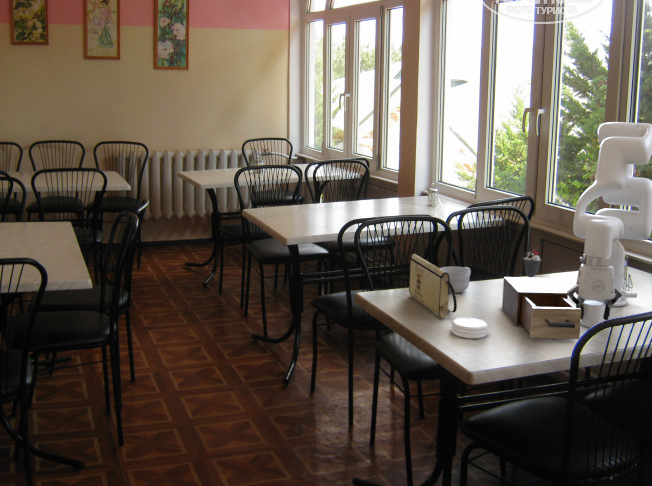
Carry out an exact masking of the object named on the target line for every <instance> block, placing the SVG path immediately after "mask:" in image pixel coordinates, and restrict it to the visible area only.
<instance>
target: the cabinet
mask: <svg viewBox="0 0 652 486" xmlns="http://www.w3.org/2000/svg"><path fill="white" fill-rule="evenodd" d="M521 295H562V296H563V297H564V298H566V299H567V300H568V298H569V296H568V293H567V291H566V290H565V289H564V288H563V287H561V286H560V285H559V284H557V283H556V282H555V281H554V280H553V279H552V278H550V277H533V278H529V277H520V276H519V277H517V276H515V277H513V276H504V277H503V285H502V299H501V300H502V301H501V309H502V311H503V312H504V313H505V314H506V316H507V317H508V318H509V319H510V320H511V322H512V323H513V324H514V325H515V327H525V326H524V325H523V324H522V323H521V322H520V321H519V316H520V301H521ZM568 301H569V300H568Z"/></svg>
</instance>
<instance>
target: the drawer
mask: <svg viewBox="0 0 652 486" xmlns="http://www.w3.org/2000/svg"><path fill="white" fill-rule="evenodd" d="M519 321H520V322H521V323H522V324H523V325H524V326H523V327H524V329H526V330H527V332H529V338H531V339H553V340H554V339H556V340H557V339H558V340H579V339H580V333H581V323H582V320H581V308H576V305H574V304H573V303H572V302H570V301H569V300H567V299H566V298H564V297H563V296H562V295H521V301H520V316H519Z"/></svg>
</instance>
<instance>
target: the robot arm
mask: <svg viewBox="0 0 652 486" xmlns="http://www.w3.org/2000/svg"><path fill="white" fill-rule="evenodd" d="M597 140H598V144H599V152H598V158H597V166H596V173H595V180H594V182H593V184H592V185H590V186H589V187H587V189H585V191H584V192H583V193H581V196H580V197H579V199H578V200H577V202H576V205H575V209H574V210H575V211H574V216H573V223H572V232H573V234H574V236H575V237H577V238H579V239H584V248H583V254H582V256H579V257H578V262H581V263H580V266H579V269H578V273H577V277H576V284H575V285H574V286H573V287H571V288H570V289H569V290H567V291H566V292H567V293H568V298H570V300H571V301H572V302H573V303H574V304H575V307H576V308H581V321H582V319H583V307H582V304H583V303H584V301H585V300H595V301H600V302H603V303H605V304H606V306H605V311H604V316H603V320H604V321H609V317H610V315H611V308H612V307H622V306H625V305H626V304H627V300H626V299H627V298H630V299H636V298H637V297H638V293H637V292H636V291H630V290H625V289H623V284H624V275H625V273H624V272H625V261H626V249H625V247H624V245H623V244H622V243H621V241H620V240H623V239H624V240H630V241H631V240H632V241H646V240H649V238H650V237H651V234H652V180H651V179H650V178H646V177H637V176H633V175H632V174H633V166H634V165H640V166H641V165H642V166H643V165H647V164H648V163H649V161H650V160H651V158H652V123H649V122H626V121H625V122H624V121H610V122H604V123H602V124H600V125H599V126H598V128H597ZM600 197H601V199H602V201H603V203H606V204H608V205H613V206H624V207H626V206H627V207H636V208H637V209H638V210H633V209H632V210H631V209H622V208H602V209H599V210H598V211H596V212H595V214H589V213H588V214H587V213H586V210H587V207H588V206H589V205H590V204H591V202H593V201H594V200H596V199H598V198H600ZM574 294H576V296H577V297H576V296H575V295H574Z"/></svg>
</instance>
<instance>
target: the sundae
mask: <svg viewBox="0 0 652 486" xmlns="http://www.w3.org/2000/svg"><path fill="white" fill-rule="evenodd" d="M538 249H540V246H539V245H537V246H536V248H535V249H532V251H531V250H530V251H528V252H526V251H524V253H523V255H524V257H523V256H522V258H521V259H522V260H523V264H524V272H525V274H526V276H527V277H528V278H535V276H536V275H538V271H539V266H540V263H541V262H542V261H543V259H542V258H541V257H540V256H539V255H538V254H539V253H538V252H537V251H538Z"/></svg>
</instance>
